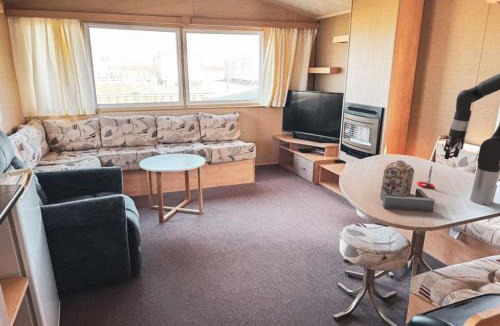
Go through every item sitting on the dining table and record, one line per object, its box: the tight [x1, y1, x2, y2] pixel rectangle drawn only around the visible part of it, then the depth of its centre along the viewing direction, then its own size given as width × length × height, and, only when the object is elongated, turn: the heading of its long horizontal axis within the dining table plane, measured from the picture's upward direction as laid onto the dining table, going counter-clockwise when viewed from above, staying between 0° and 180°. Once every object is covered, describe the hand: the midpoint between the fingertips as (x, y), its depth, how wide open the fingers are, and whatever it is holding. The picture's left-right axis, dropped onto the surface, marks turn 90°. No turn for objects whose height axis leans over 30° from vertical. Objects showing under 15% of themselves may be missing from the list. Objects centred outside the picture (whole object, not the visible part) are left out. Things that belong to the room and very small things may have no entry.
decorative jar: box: [381, 159, 415, 196], centre depth 177 cm, size 12×12×18 cm
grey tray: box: [379, 185, 436, 213], centre depth 164 cm, size 15×22×7 cm
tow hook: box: [416, 165, 436, 189], centre depth 190 cm, size 8×13×9 cm
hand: (450, 158), depth 178 cm, fingers open, 8 cm apart
